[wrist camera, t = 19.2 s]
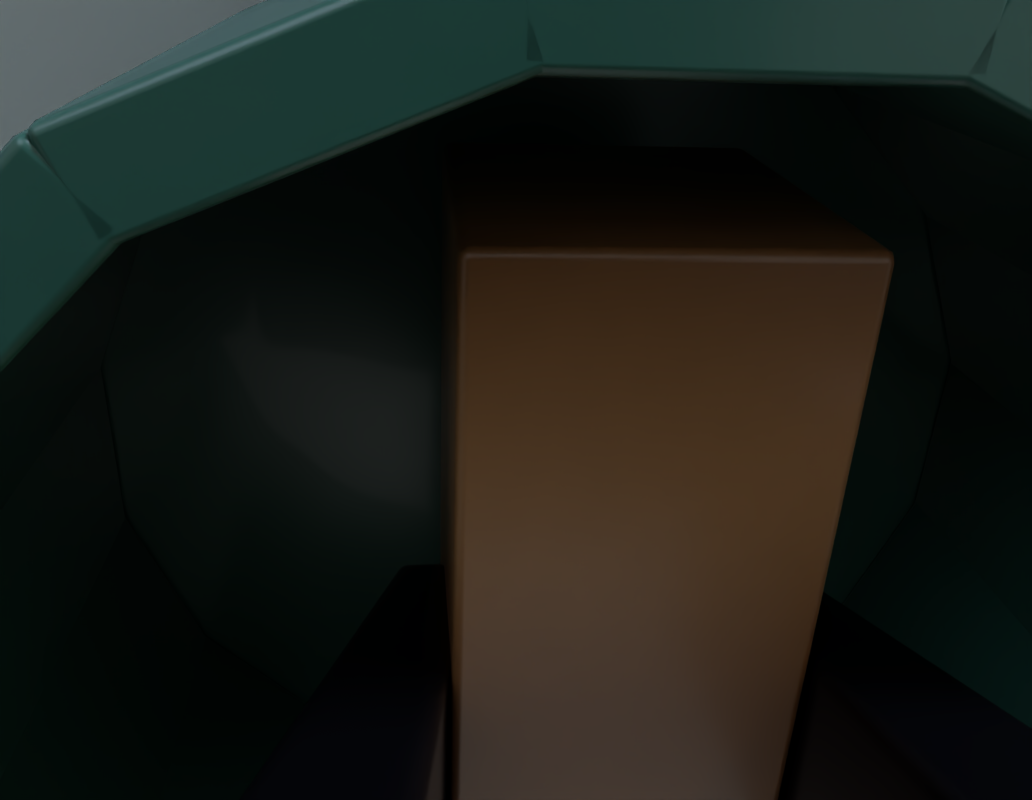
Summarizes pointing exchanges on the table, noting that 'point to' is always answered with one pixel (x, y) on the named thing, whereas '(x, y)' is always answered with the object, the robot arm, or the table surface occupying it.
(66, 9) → the table surface
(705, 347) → the wooden block
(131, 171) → the pot
